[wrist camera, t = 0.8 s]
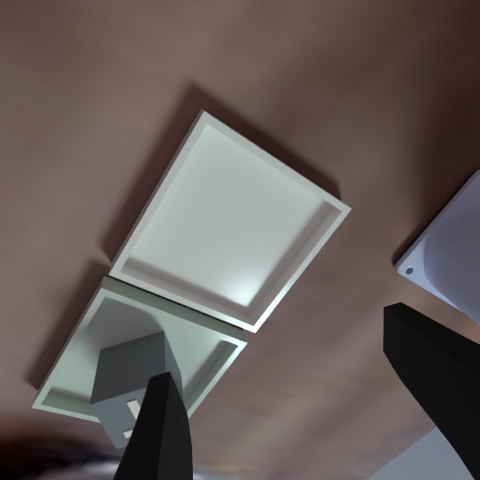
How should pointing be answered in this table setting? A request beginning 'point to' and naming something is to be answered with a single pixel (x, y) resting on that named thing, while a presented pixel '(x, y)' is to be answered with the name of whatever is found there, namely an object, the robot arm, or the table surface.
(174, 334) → the tray
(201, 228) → the tray
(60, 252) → the table surface
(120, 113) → the table surface
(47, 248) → the table surface
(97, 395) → the letter cube
